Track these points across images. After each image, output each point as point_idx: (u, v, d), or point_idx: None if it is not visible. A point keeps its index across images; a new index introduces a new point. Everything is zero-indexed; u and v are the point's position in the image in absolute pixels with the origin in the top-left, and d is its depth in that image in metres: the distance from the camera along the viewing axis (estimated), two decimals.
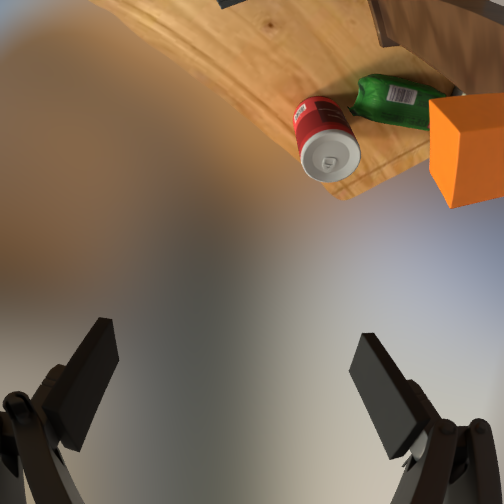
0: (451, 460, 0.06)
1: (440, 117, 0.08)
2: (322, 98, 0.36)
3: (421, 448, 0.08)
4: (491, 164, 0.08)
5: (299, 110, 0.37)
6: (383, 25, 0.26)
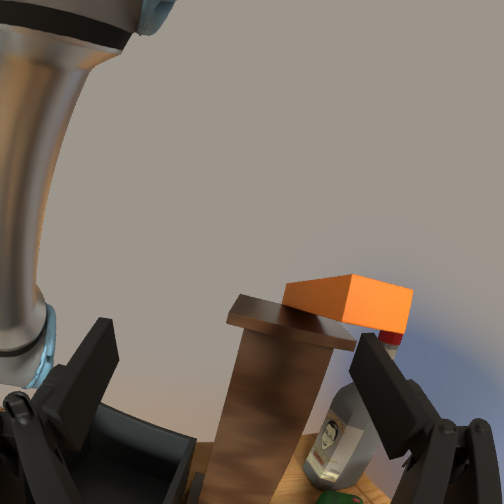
0: (451, 460, 0.06)
1: (351, 302, 0.14)
2: None
3: (421, 448, 0.08)
4: None
5: None
6: None
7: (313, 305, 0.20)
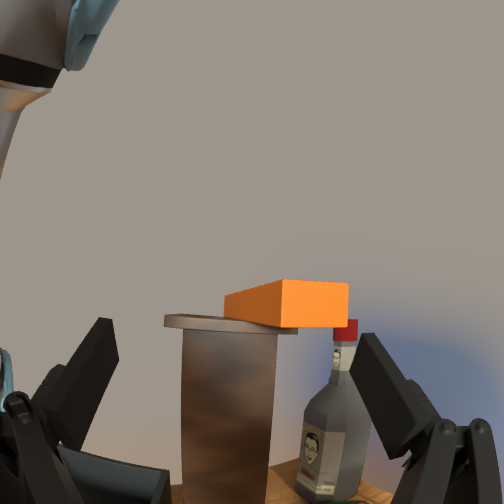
0: (451, 460, 0.06)
1: (286, 307, 0.15)
2: None
3: (421, 448, 0.08)
4: None
5: None
6: None
7: (252, 314, 0.20)
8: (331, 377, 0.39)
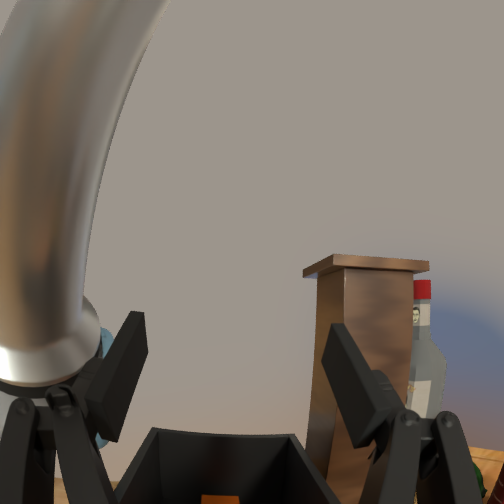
0: (417, 451, 0.07)
1: None
2: None
3: (384, 440, 0.09)
4: None
5: None
6: None
7: None
8: None
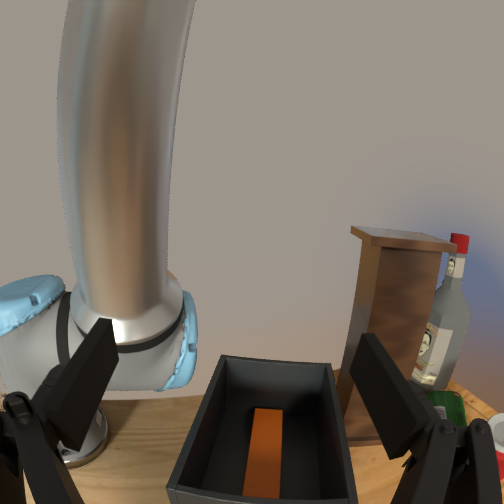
0: (451, 460, 0.06)
1: None
2: None
3: (421, 448, 0.08)
4: None
5: None
6: (376, 436, 0.34)
7: None
8: (445, 281, 0.43)
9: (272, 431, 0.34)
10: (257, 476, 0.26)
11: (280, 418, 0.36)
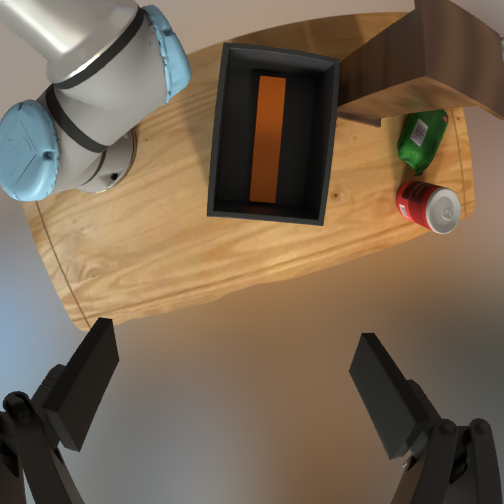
0: (451, 460, 0.06)
1: None
2: (401, 189, 0.48)
3: (421, 448, 0.08)
4: (262, 190, 0.45)
5: (402, 210, 0.48)
6: (364, 118, 0.44)
7: None
8: None
9: (275, 105, 0.40)
10: (262, 156, 0.43)
11: (283, 89, 0.40)
